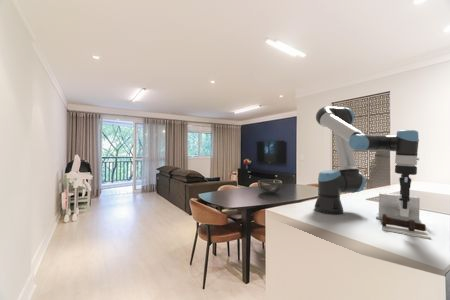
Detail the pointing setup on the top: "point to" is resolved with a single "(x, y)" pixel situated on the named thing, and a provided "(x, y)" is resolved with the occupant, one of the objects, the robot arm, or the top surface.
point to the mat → (406, 231)
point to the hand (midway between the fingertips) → (403, 212)
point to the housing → (391, 207)
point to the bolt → (403, 223)
